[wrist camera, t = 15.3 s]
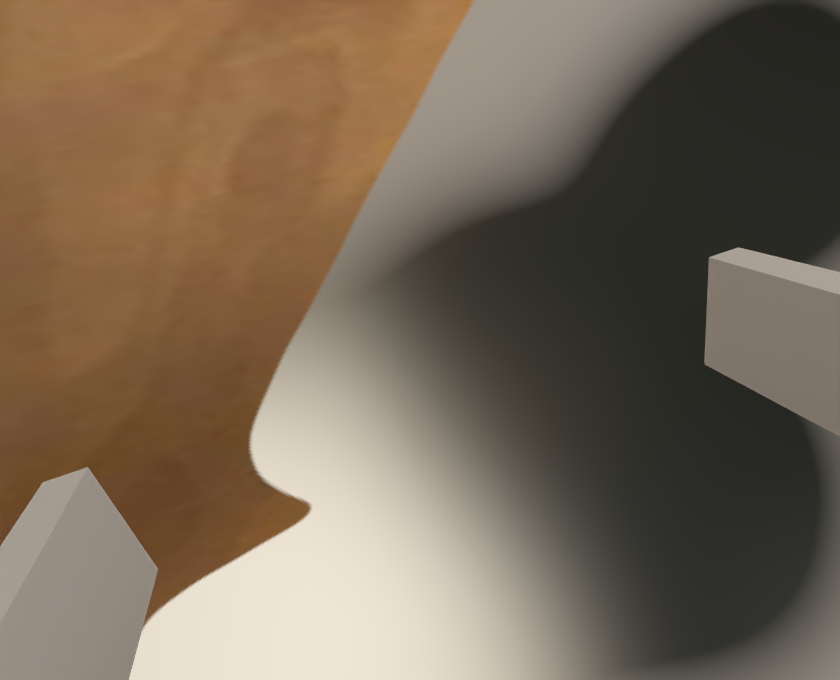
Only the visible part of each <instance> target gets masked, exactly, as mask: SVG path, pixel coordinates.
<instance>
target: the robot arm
mask: <svg viewBox="0 0 840 680" xmlns="http://www.w3.org/2000/svg"><path fill="white" fill-rule="evenodd" d="M706 321H707V322H706V342H705V365H707V366H709V367H711V368H713V369H715V370H717V371H719V372H720V373H722V374H724V375H726V376H728V377H730V378H732V379H733V380H735V381H737V382H739V383H741V384H743V385H745V386H746V387H748V388H750V389H752V390H754V391H756V392H758V393H760V394H761V395H763V396H765V397H767V398H769V399H771V400H773V401H774V402H776V403H778V404H780V405H782V406H784V407H786V408H788V409H789V410H791V411H793V412H795V413H797V414H799V415H801V416H803V417H804V418H806V419H808V420H810V421H812V422H814V423H816V424H817V425H819V426H821V427H823V428H825V429H827V430H829V431H831V432H832V433H834V434H836V435H838V436H840V272H836V271H832V270H827V269H823V268H820V267H816V266H811V265H808V264H803V263H799V262H795V261H791V260H787V259H783V258H778V257H775V256H771V255H767V254H763V253H759V252H754V251H750V250H746V249H742V248H736V249H733V250H730V251H727V252H724V253H721V254H718V255H715V256H712V257H709V273H708V297H707V319H706ZM157 572H158V568H157V567H156V565H155V564H154V562H153V561H152V560H151V558H150V557H149V555H148V554H147V552H146V551H145V549H144V548H143V546H142V545H141V544H140V542H139V541H138V539H137V538H136V536H135V535H134V533H133V532H132V530H131V529H130V528H129V526H128V525H127V523H126V522H125V520H124V519H123V517H122V516H121V515H120V513H119V512H118V510H117V509H116V507H115V506H114V504H113V503H112V501H111V500H110V499H109V497H108V496H107V494H106V493H105V491H104V490H103V488H102V487H101V485H100V484H99V483H98V481H97V480H96V478H95V477H94V475H93V474H92V472H91V471H90V469H89V468H88V467H87V468H84V469H81V470H78V471H75V472H72V473H69V474H66V475H63V476H60V477H57V478H54V479H51V480H48V481H45V482H43V483H42V484H41V486H40V487H39V489H38V490H37V492H36V493H35V495H34V496H33V498H32V499H31V501H30V502H29V504H28V505H27V507H26V508H25V510H24V511H23V513H22V514H21V516H20V517H19V519H18V520H17V522H16V523H15V525H14V526H13V528H12V529H11V531H10V532H9V534H8V535H7V537H6V538H5V540H4V541H3V543H2V544H1V546H0V680H129V676H130V672H131V669H132V665H133V661H134V658H135V654H136V650H137V646H138V643H139V639H140V635H141V631H142V628H143V624H144V620H145V616H146V613H147V609H148V605H149V602H150V598H151V594H152V590H153V587H154V583H155V579H156V575H157Z"/></svg>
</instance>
